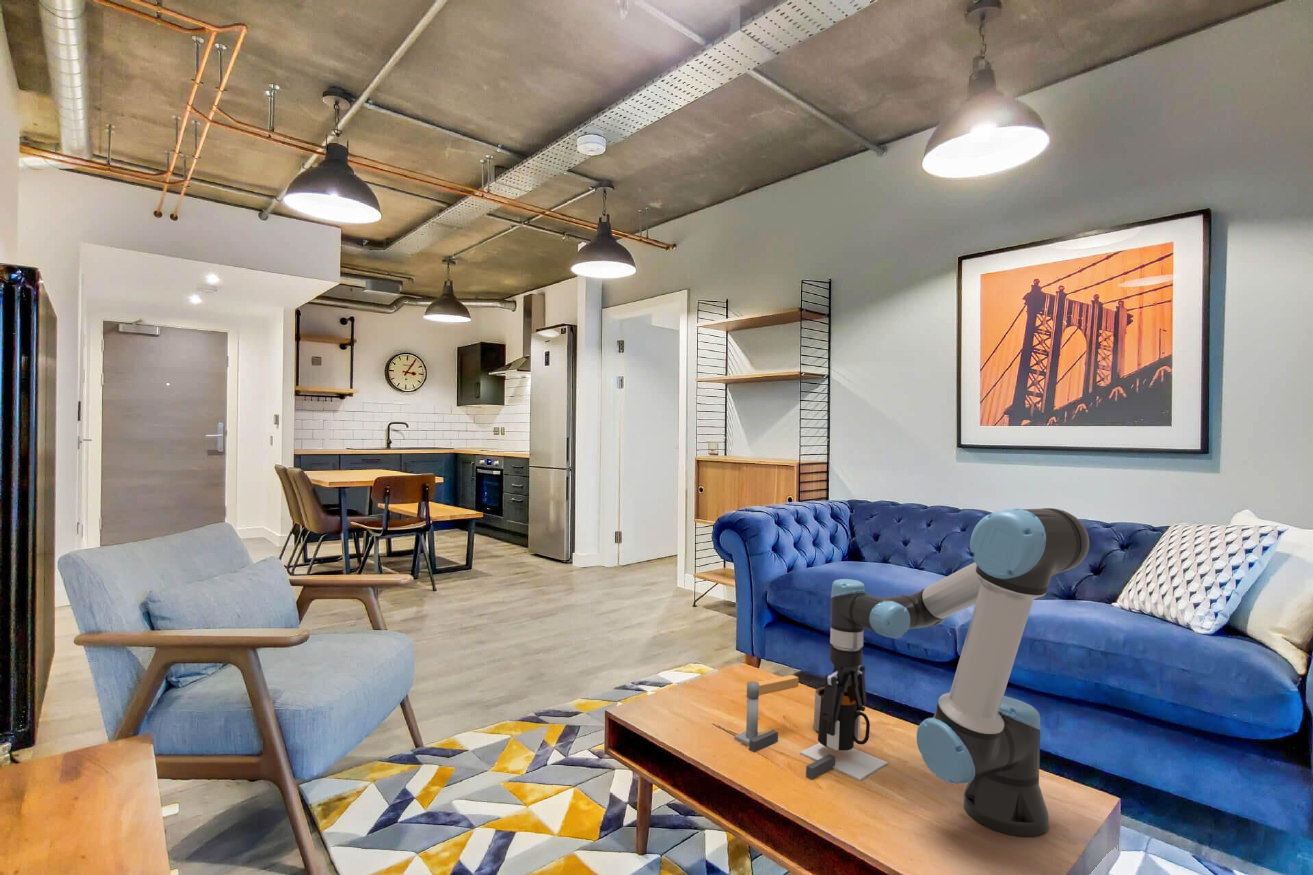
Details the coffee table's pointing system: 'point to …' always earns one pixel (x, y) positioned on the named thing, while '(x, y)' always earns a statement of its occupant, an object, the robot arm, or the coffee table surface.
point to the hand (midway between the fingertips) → (843, 742)
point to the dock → (768, 738)
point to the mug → (844, 725)
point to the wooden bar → (771, 685)
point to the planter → (817, 706)
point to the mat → (847, 760)
